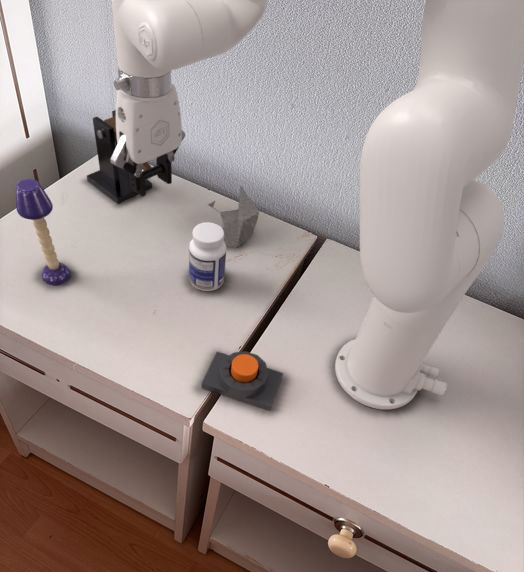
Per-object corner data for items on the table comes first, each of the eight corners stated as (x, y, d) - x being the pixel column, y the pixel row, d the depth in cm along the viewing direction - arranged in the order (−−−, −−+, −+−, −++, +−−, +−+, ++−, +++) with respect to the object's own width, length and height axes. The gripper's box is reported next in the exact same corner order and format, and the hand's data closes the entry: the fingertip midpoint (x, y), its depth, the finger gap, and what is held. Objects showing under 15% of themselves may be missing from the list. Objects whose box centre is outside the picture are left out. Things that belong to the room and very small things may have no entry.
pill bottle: (210, 263, 86) (213, 215, 79) (230, 284, 84) (235, 236, 76) (181, 276, 84) (181, 227, 76) (201, 297, 81) (203, 249, 74)
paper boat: (235, 257, 86) (188, 228, 86) (234, 265, 93) (190, 237, 92) (272, 198, 87) (226, 168, 87) (268, 209, 94) (225, 182, 93)
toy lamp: (51, 291, 78) (24, 199, 65) (31, 276, 80) (1, 183, 67) (76, 275, 81) (55, 184, 68) (56, 261, 82) (32, 169, 69)
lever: (163, 175, 90) (166, 165, 88) (140, 185, 87) (143, 176, 85) (119, 124, 90) (121, 113, 88) (95, 132, 88) (97, 122, 86)
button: (260, 366, 71) (261, 358, 70) (252, 386, 69) (253, 379, 68) (235, 358, 72) (236, 350, 70) (227, 378, 69) (228, 370, 68)
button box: (282, 376, 74) (285, 363, 71) (269, 412, 70) (272, 400, 67) (217, 354, 75) (218, 342, 72) (200, 389, 71) (201, 377, 68)
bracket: (152, 188, 97) (148, 123, 87) (118, 204, 93) (110, 138, 83) (121, 166, 100) (115, 101, 90) (87, 181, 96) (76, 114, 86)
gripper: (114, 106, 70) (126, 216, 84) (205, 74, 79) (202, 178, 93) (80, 84, 72) (97, 194, 87) (172, 56, 81) (174, 160, 95)
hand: (151, 185), depth 89 cm, fingers closed on lever, 5 cm apart
